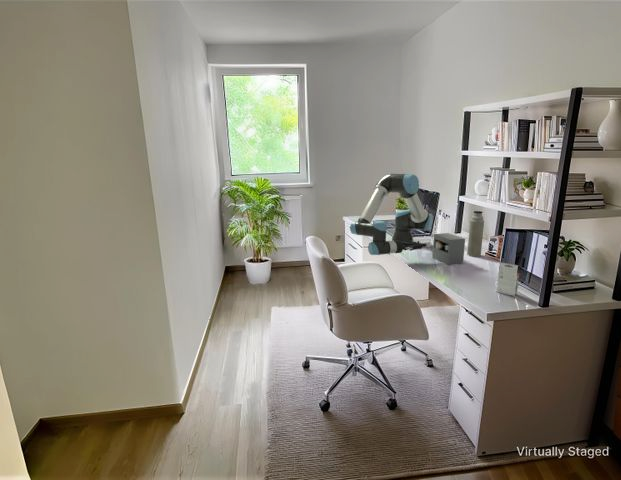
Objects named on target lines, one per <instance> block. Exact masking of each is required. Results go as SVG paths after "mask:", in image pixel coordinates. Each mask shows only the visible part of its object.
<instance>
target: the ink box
mask: <svg viewBox="0 0 621 480" xmlns="http://www.w3.org/2000/svg"><path fill="white" fill-rule="evenodd" d="M498 269H499V270H498V275H497V281H496V282H497V284H496V285H497V286H496V291H495V292H496V293H500V294H503V295H507V296H512V297H515V296H516V295H517V294H518V287H519V278H520V274H519V273H518V271H519V270H518V269H519V265H518V264H512V263H507V262H502V261H500V262H499V267H498Z"/></svg>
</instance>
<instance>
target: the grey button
mask: <svg viewBox="0 0 621 480" xmlns="http://www.w3.org/2000/svg"><path fill="white" fill-rule="evenodd" d="M435 247H436V249H441V248H442V247H445V244H444V245H442V244H441V243H440V244H436V245H435Z"/></svg>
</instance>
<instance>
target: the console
mask: <svg viewBox="0 0 621 480" xmlns="http://www.w3.org/2000/svg"><path fill="white" fill-rule="evenodd" d="M438 241H441V242H444V243H445V246H446V245H449V247H448V250H445V247H442V248H441V249H436V247H435V245H436V242H438ZM465 245H466V238H464V237H461V236H459V235H456V234H453V233H449V232H446V233H445V232H444V233H434V234H433V245H432V257H431V258H433V259H434V260H436V259H437V261H438V260H439V262H440V263H443V264H445V265H447V266H452V265H453V266H454V265H462V264H464V258H465V257H464V256H465V247H466V246H465Z"/></svg>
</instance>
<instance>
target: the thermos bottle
mask: <svg viewBox="0 0 621 480" xmlns="http://www.w3.org/2000/svg"><path fill="white" fill-rule="evenodd" d="M484 226H485V220H484V216H483V211H480V210H474V211H473V215H472V216H471V218H470V219H469V229H468V240H467V241H468V242H467V251H466V253H467V254H466V255H467V256H468V255H469V256H468V257H472V256H473V257H474V258H478V257H481V256H482V248H483V247H482V246H483V239H484V228H485V227H484ZM473 257H472V258H473Z"/></svg>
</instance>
